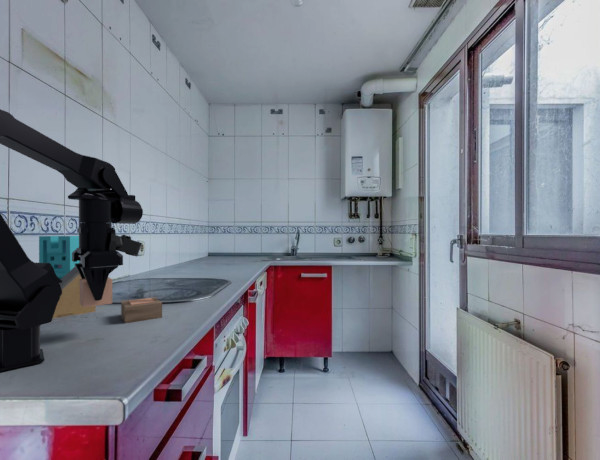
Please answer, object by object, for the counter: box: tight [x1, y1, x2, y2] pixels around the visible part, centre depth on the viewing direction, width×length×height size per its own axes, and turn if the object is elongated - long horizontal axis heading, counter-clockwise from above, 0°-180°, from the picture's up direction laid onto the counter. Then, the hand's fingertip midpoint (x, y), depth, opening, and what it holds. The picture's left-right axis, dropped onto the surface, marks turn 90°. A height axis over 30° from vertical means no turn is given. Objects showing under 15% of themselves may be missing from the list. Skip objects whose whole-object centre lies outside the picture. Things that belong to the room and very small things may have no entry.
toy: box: [38, 235, 79, 279], centre depth 93 cm, size 9×6×20 cm, turn 86°
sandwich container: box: [52, 266, 97, 319], centre depth 81 cm, size 9×15×15 cm, turn 135°
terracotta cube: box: [80, 276, 113, 307], centre depth 65 cm, size 5×5×5 cm
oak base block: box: [120, 296, 163, 324], centre depth 78 cm, size 8×8×4 cm
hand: (95, 298), depth 65 cm, fingers closed on terracotta cube, 5 cm apart
